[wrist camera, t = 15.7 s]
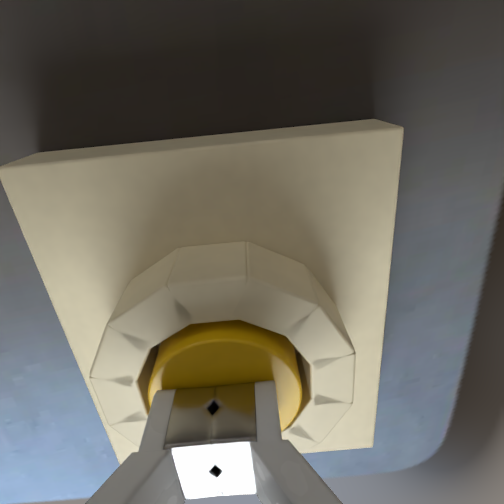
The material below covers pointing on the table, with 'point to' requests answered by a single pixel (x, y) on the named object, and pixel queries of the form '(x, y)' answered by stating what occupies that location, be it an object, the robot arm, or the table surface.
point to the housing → (221, 259)
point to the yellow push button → (229, 361)
